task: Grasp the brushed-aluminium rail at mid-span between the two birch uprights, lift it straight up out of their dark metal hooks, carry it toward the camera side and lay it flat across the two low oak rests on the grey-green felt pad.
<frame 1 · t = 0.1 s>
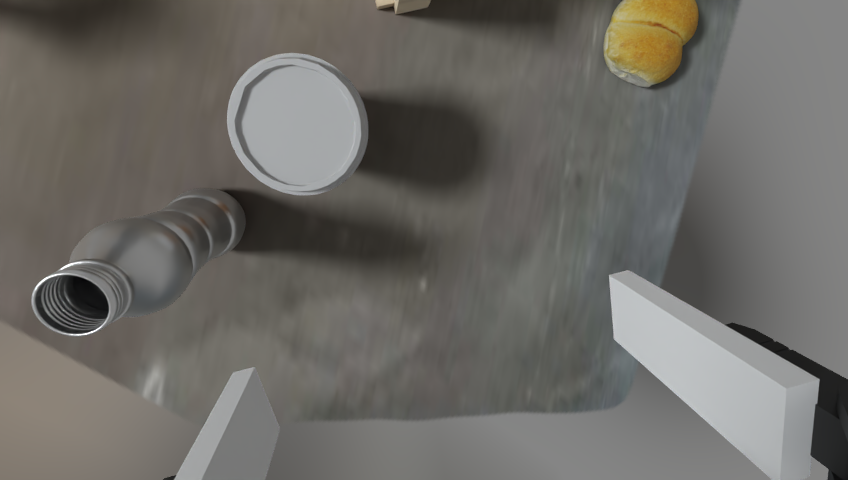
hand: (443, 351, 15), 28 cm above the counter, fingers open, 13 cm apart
bread roll: (640, 39, 40), on the counter
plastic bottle: (217, 216, 39), on the counter
disposable coffee cup: (318, 126, 38), on the counter
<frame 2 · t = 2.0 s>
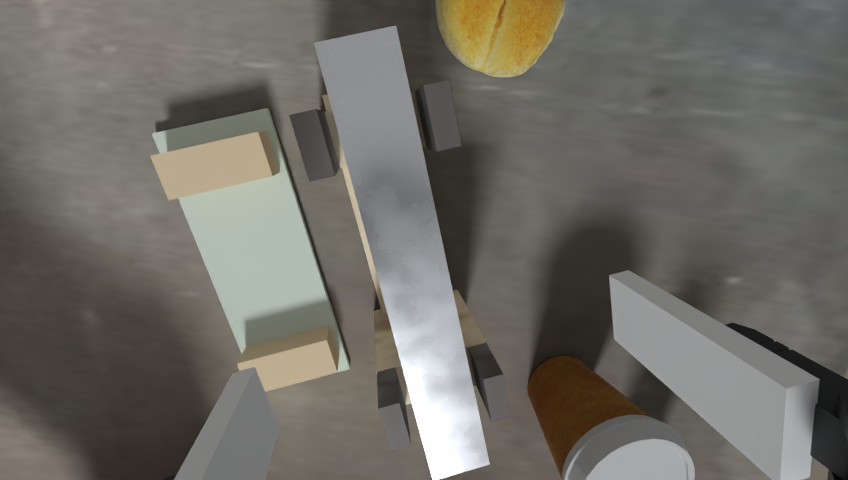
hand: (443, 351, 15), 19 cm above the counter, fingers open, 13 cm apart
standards: (398, 228, 33), on the counter
bread roll: (494, 14, 30), on the counter
rest pad: (263, 261, 32), on the counter
rail: (409, 265, 24), point 9 cm above the counter, touching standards
disposable coffee cup: (557, 382, 39), on the counter
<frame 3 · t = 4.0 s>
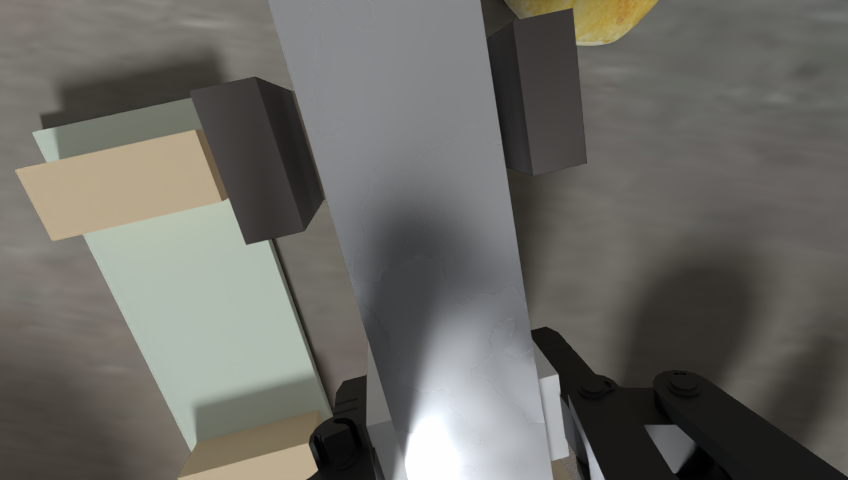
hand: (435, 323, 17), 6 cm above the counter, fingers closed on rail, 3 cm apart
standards: (419, 272, 22), on the counter
rest pad: (220, 322, 22), on the counter
rail: (449, 367, 14), point 9 cm above the counter, touching gripper
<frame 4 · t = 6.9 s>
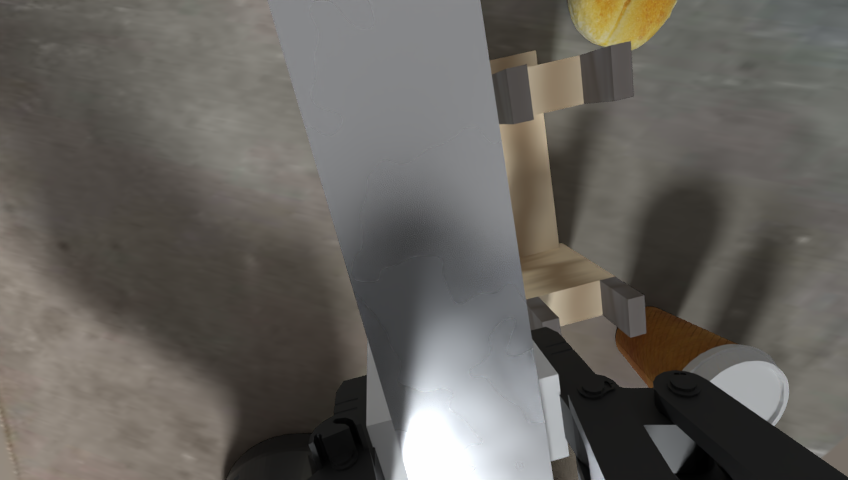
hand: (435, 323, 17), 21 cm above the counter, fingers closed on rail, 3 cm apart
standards: (515, 186, 37), on the counter
rail: (449, 366, 14), point 24 cm above the counter, touching gripper
disposable coffee cup: (641, 331, 44), on the counter
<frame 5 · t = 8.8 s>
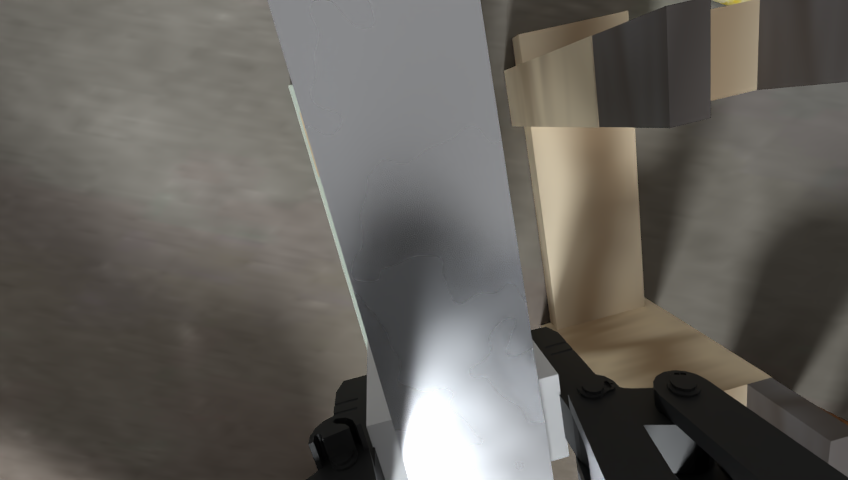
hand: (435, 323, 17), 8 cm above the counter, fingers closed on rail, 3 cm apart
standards: (584, 219, 25), on the counter
rest pad: (412, 262, 24), on the counter
rail: (449, 366, 14), point 11 cm above the counter, touching gripper
when the fingers open (2 cm above the counter, at t = 10.3 s): rail drops 2 cm, resting on rest pad.
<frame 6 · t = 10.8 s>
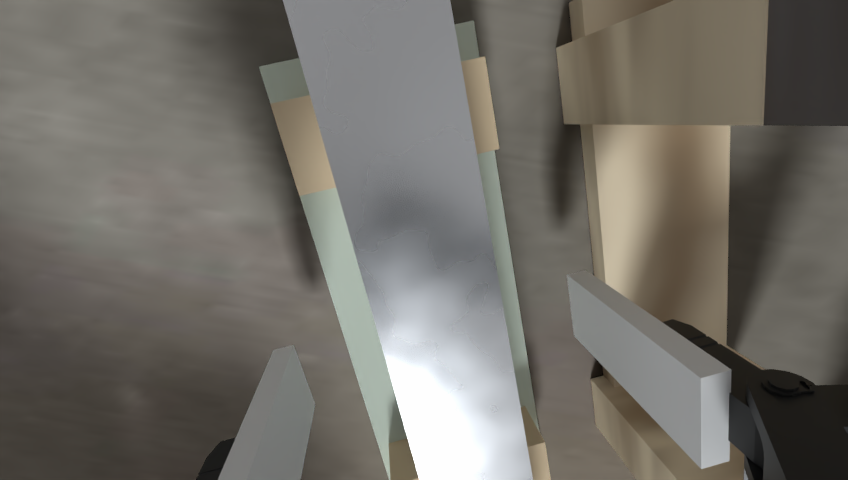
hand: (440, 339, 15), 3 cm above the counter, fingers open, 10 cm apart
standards: (652, 245, 19), on the counter
rest pad: (428, 303, 18), on the counter
rail: (438, 335, 16), point 3 cm above the counter, touching rest pad
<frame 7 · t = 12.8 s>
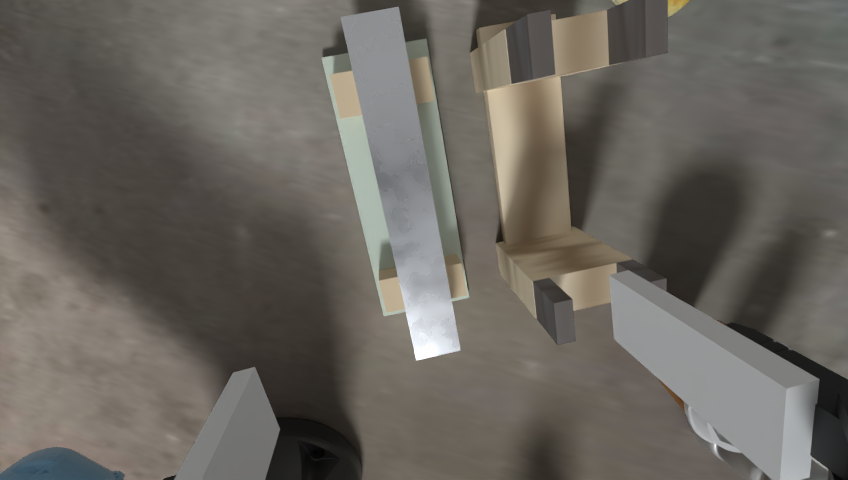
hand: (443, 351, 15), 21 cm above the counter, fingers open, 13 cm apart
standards: (527, 163, 35), on the counter
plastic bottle: (704, 406, 45), on the counter
rest pad: (402, 189, 34), on the counter
rail: (404, 195, 31), point 3 cm above the counter, touching rest pad
disposable coffee cup: (653, 325, 41), on the counter
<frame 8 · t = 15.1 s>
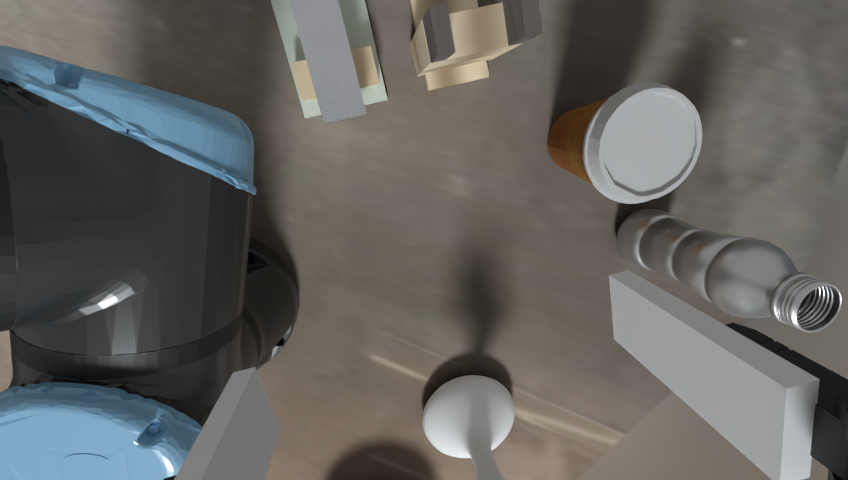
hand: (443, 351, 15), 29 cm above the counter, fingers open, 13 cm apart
flower in vase: (463, 411, 51), on the counter
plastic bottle: (634, 232, 47), on the counter
disposable coffee cup: (574, 140, 43), on the counter
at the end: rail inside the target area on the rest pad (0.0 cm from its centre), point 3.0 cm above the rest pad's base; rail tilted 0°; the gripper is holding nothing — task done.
